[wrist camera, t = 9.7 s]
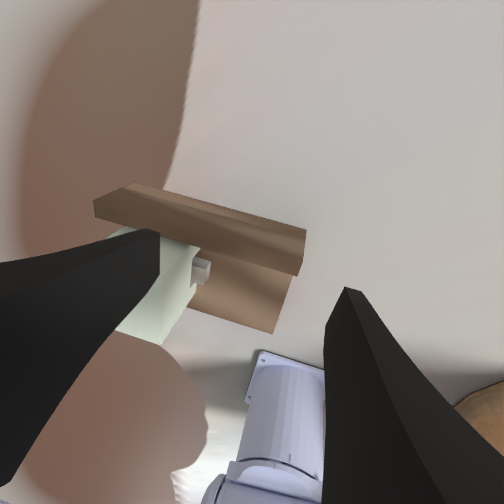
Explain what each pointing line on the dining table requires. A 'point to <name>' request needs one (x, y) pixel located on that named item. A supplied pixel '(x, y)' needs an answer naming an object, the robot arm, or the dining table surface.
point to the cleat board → (218, 250)
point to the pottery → (486, 414)
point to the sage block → (162, 292)
